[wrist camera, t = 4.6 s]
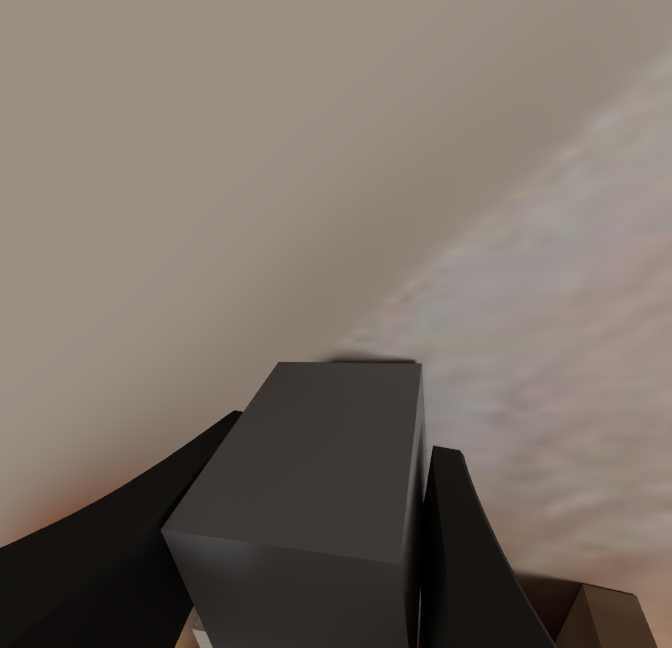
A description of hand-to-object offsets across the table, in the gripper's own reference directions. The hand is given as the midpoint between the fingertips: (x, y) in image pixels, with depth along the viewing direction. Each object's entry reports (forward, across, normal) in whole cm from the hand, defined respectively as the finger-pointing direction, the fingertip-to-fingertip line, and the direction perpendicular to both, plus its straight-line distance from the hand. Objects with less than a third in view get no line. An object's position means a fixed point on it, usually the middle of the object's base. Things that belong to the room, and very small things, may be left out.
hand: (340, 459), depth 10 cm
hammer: (+2, -1, +7) cm, 7 cm away
